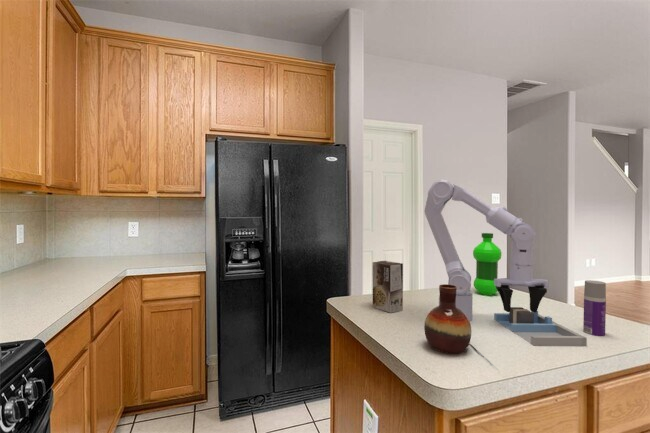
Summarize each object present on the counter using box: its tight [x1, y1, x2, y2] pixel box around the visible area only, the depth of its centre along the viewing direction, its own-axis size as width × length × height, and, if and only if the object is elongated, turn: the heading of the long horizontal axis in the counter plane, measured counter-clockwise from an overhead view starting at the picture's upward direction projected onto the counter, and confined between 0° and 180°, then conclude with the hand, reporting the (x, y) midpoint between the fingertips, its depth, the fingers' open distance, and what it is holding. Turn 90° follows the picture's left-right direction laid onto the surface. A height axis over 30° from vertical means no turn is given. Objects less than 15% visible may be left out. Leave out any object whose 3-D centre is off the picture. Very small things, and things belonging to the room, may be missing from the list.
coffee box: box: [371, 260, 404, 314], centre depth 117 cm, size 9×6×16 cm
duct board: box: [493, 310, 588, 347], centre depth 93 cm, size 13×20×4 cm, turn 0°
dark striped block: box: [508, 306, 534, 324], centre depth 97 cm, size 4×6×5 cm, turn 179°
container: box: [582, 279, 607, 337], centre depth 92 cm, size 5×5×15 cm
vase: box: [423, 284, 472, 355], centre depth 84 cm, size 11×11×15 cm
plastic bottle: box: [472, 232, 502, 296], centre depth 139 cm, size 10×10×25 cm
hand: (520, 311), depth 97 cm, fingers open, 7 cm apart
